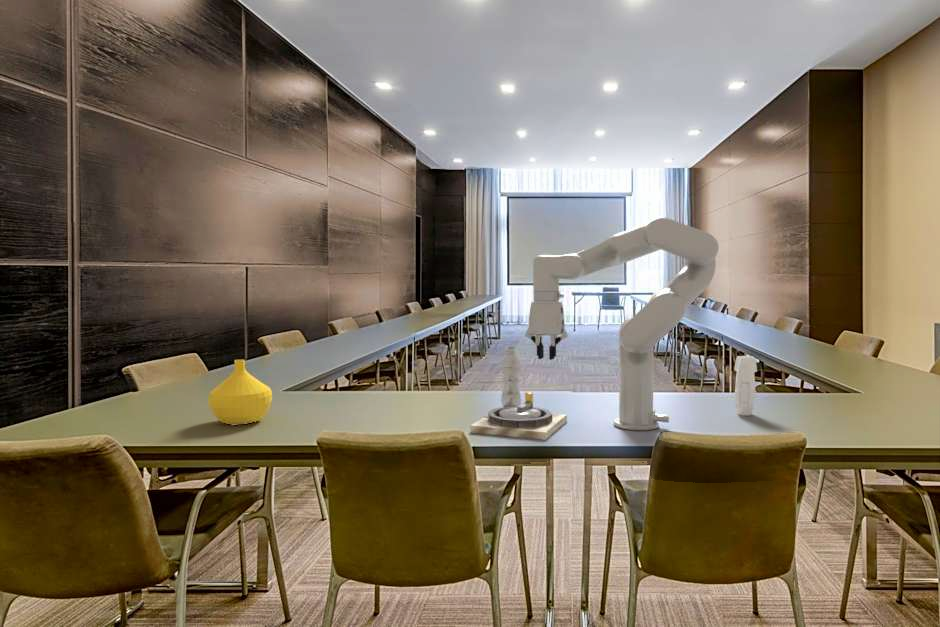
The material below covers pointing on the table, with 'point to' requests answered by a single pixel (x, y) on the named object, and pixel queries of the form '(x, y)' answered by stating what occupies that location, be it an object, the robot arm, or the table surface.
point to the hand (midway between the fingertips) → (546, 358)
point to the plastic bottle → (510, 378)
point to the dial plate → (520, 431)
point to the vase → (240, 397)
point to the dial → (522, 410)
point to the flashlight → (745, 384)
